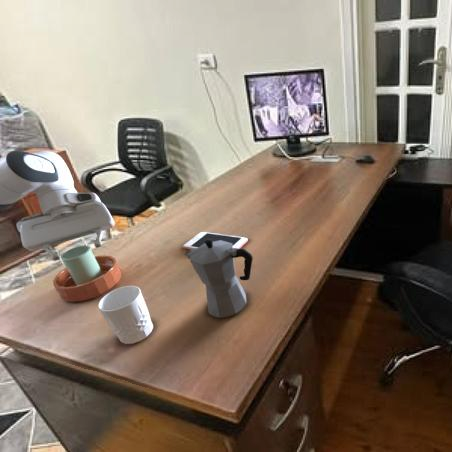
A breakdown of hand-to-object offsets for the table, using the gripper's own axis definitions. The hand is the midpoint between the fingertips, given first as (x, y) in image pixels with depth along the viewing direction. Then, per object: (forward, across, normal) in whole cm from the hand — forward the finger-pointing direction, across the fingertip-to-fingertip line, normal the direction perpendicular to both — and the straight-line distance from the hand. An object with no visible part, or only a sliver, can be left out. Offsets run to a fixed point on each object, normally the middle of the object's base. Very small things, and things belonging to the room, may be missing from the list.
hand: (78, 252), depth 91 cm
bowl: (+8, 0, +5) cm, 10 cm away
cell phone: (+10, +33, +3) cm, 35 cm away
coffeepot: (+31, +28, -18) cm, 45 cm away
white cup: (+28, +8, -14) cm, 32 cm away
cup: (+8, 0, +4) cm, 9 cm away
